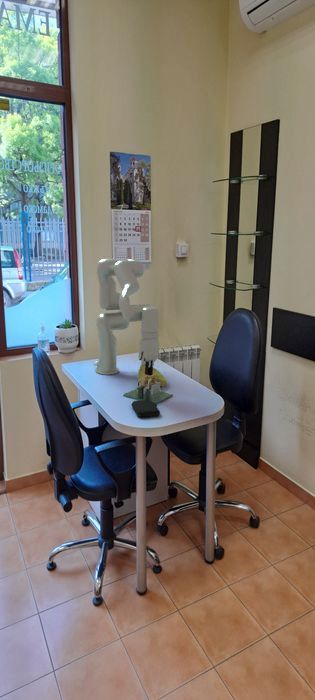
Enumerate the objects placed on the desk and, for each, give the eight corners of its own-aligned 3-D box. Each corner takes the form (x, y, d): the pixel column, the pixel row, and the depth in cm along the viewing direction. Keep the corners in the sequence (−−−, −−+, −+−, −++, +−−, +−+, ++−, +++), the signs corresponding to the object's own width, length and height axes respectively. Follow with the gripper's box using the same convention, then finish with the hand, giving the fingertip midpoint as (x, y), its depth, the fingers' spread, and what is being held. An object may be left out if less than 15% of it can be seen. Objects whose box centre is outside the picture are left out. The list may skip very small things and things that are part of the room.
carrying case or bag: (163, 417, 181) (154, 404, 195) (163, 410, 180) (154, 398, 194) (137, 419, 178) (130, 406, 192) (138, 412, 178) (130, 399, 191)
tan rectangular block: (140, 387, 200) (140, 378, 199) (152, 382, 208) (152, 373, 206) (144, 388, 199) (144, 379, 198) (156, 383, 206) (156, 374, 205)
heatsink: (122, 396, 203) (122, 382, 201) (141, 387, 215) (141, 374, 213) (155, 405, 194) (155, 390, 192) (173, 395, 206) (173, 381, 204)
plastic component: (168, 382, 217) (151, 375, 213) (161, 395, 218) (144, 389, 214) (156, 368, 235) (140, 361, 231) (149, 380, 236) (133, 374, 232)
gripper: (152, 331, 205) (151, 369, 210) (132, 336, 193) (132, 377, 198) (166, 333, 201) (164, 372, 206) (147, 339, 189) (146, 380, 194)
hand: (148, 374), depth 202 cm, fingers closed
